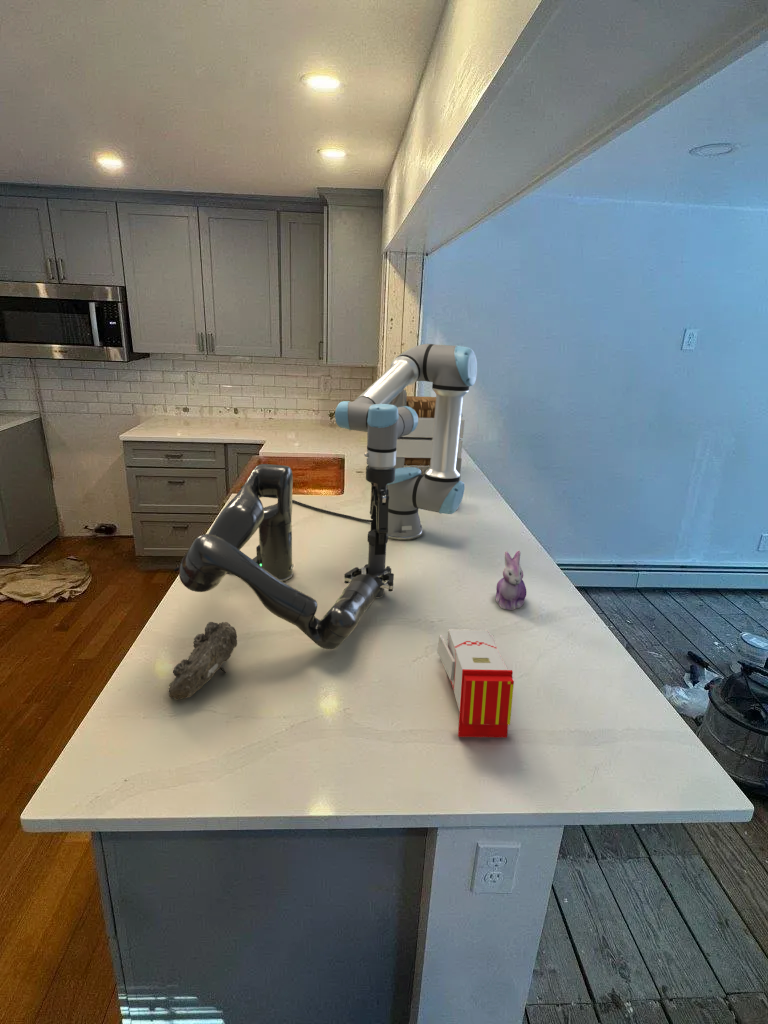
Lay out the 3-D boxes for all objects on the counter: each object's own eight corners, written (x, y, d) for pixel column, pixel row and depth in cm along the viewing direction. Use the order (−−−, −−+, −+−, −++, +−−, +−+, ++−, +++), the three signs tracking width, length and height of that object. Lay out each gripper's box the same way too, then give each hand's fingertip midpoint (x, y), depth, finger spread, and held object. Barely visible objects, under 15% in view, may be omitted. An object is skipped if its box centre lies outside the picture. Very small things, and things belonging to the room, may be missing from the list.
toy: (488, 613, 130) (523, 677, 101) (484, 667, 133) (517, 744, 104) (435, 612, 130) (455, 676, 101) (432, 666, 133) (451, 743, 103)
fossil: (191, 624, 130) (237, 594, 125) (220, 652, 133) (266, 624, 128) (146, 693, 111) (199, 661, 106) (181, 724, 114) (234, 694, 109)
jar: (367, 598, 155) (369, 539, 149) (366, 589, 159) (368, 532, 153) (384, 597, 155) (387, 539, 150) (383, 589, 160) (385, 532, 154)
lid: (391, 544, 151) (391, 535, 150) (371, 546, 149) (372, 538, 148) (383, 536, 155) (383, 528, 155) (364, 538, 153) (364, 530, 153)
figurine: (508, 614, 149) (515, 562, 144) (485, 597, 158) (490, 547, 153) (536, 607, 153) (543, 557, 148) (511, 591, 162) (518, 542, 157)
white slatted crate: (382, 463, 289) (386, 382, 275) (445, 464, 293) (451, 384, 279) (390, 482, 257) (394, 392, 243) (460, 483, 261) (468, 394, 247)
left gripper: (332, 603, 145) (354, 575, 161) (385, 613, 142) (403, 584, 157) (332, 576, 143) (355, 551, 158) (387, 586, 139) (405, 559, 154)
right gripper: (361, 456, 154) (358, 534, 161) (372, 477, 135) (368, 564, 143) (388, 456, 155) (384, 533, 163) (403, 477, 136) (398, 563, 144)
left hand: (379, 567), depth 157 cm, fingers closed on jar, 4 cm apart
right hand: (377, 548), depth 153 cm, fingers open, 7 cm apart
